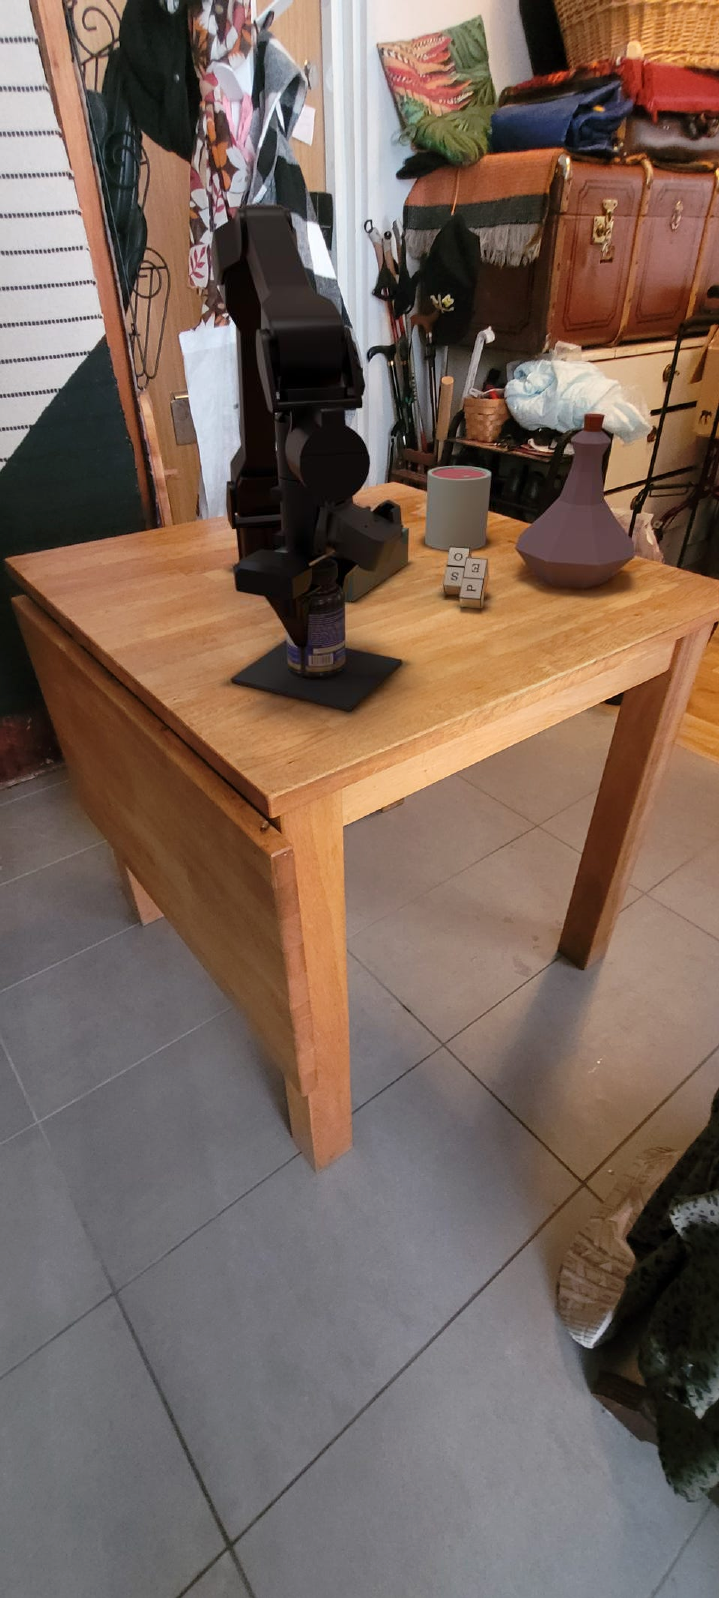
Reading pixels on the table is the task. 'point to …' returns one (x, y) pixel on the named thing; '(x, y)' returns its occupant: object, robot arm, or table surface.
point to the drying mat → (329, 691)
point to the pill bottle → (322, 627)
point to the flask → (578, 523)
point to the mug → (457, 507)
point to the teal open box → (368, 580)
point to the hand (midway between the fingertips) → (316, 635)
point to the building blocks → (466, 577)
